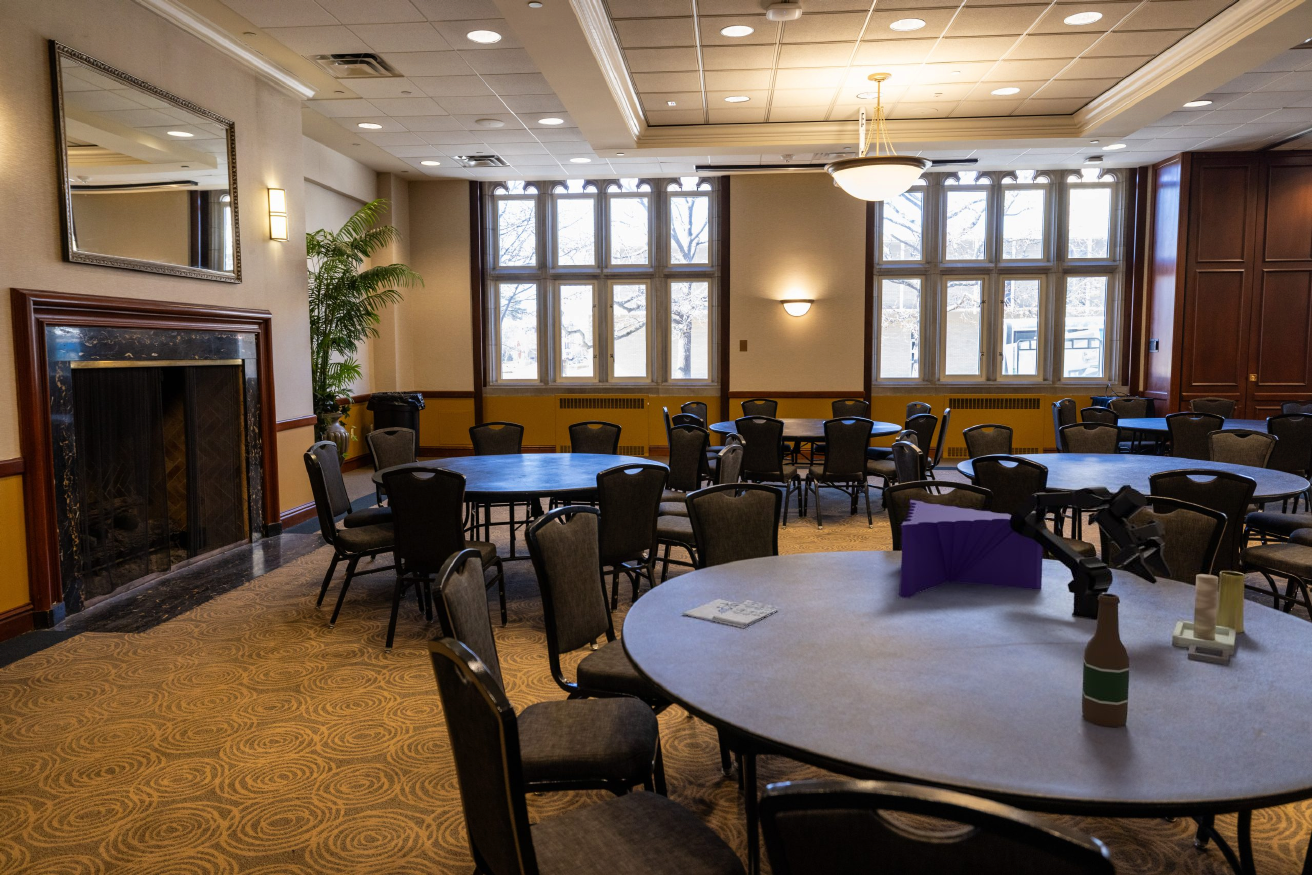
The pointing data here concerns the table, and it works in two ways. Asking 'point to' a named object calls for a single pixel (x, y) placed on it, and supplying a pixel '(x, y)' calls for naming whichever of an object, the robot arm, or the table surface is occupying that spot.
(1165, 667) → the table surface
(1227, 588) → the vase
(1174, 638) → the tray
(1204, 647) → the holder
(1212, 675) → the table surface
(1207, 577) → the dowel
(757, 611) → the white square relief plate
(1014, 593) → the table surface
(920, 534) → the purple jagged triangular block
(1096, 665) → the beer bottle
